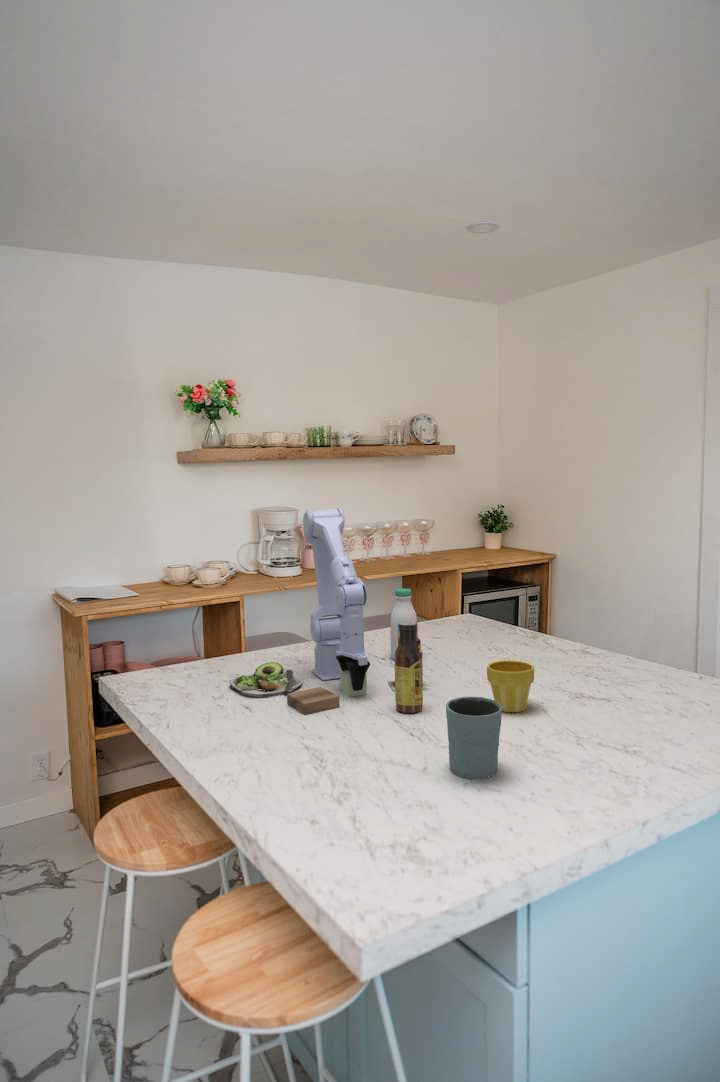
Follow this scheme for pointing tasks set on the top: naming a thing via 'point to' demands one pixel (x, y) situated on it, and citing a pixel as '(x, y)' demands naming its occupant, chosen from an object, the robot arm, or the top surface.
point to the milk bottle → (401, 616)
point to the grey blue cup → (473, 736)
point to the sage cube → (350, 685)
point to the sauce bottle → (408, 671)
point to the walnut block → (313, 700)
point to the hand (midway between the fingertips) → (353, 686)
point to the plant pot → (510, 683)
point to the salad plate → (267, 681)
